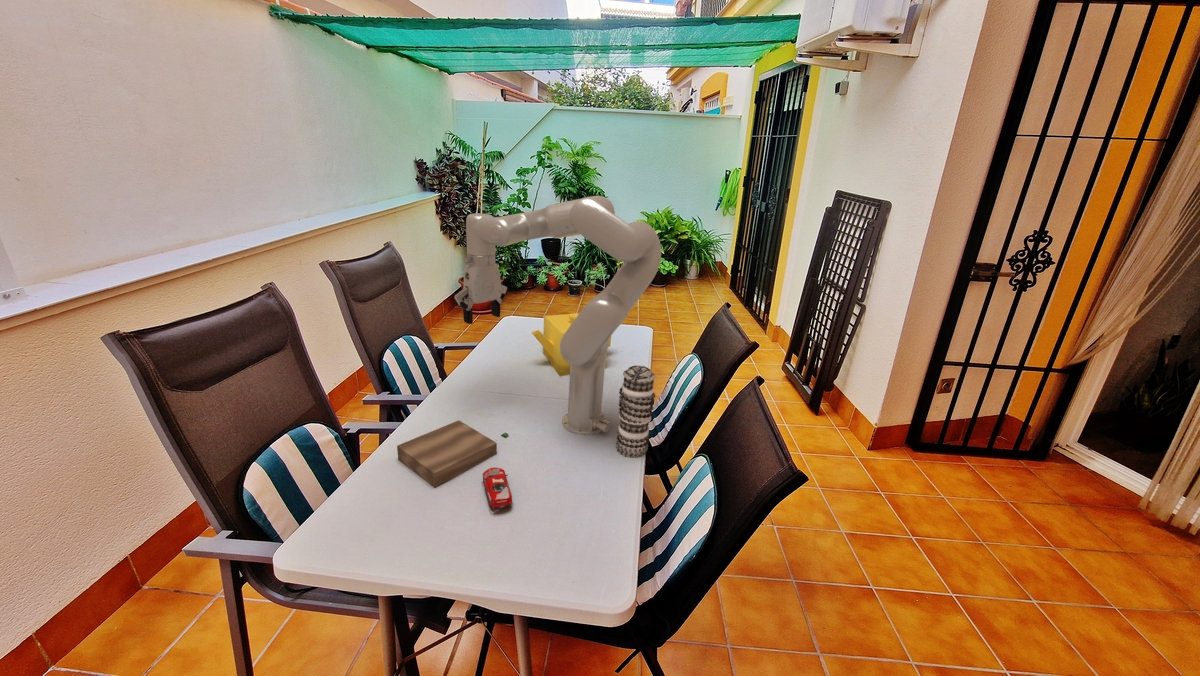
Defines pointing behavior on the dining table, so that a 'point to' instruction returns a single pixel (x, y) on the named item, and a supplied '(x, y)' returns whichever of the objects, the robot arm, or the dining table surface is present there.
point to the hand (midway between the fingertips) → (482, 319)
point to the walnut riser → (446, 452)
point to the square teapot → (556, 340)
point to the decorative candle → (635, 411)
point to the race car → (497, 488)
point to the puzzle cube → (505, 435)
